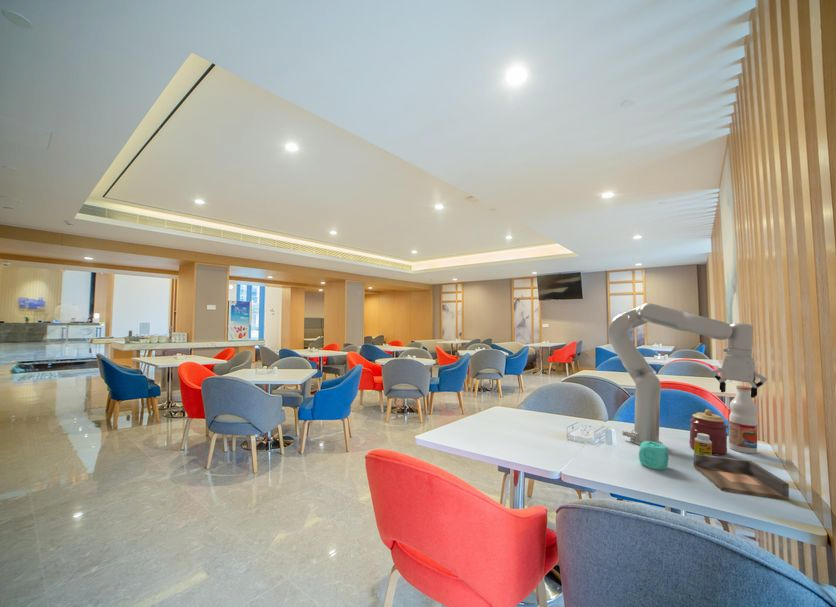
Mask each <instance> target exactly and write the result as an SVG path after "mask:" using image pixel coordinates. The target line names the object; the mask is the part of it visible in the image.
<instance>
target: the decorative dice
mask: <svg viewBox="0 0 836 607" xmlns="http://www.w3.org/2000/svg"><path fill="white" fill-rule="evenodd" d="M669 458H670V457H669V449H668V447H667V446H666V445H664V443H663V444H660V443H656V442H651V441H644V442H642V443H641V445H639V450H638V459H639V460H638V461H639V463H640V464H641V465H642V466H644V467H645V468H649V469H651V470H655V471H656V470H657V471H665V470H666V469H667V468H668V465H669Z"/></svg>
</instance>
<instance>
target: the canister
mask: <svg viewBox="0 0 836 607" xmlns="http://www.w3.org/2000/svg"><path fill="white" fill-rule="evenodd" d="M691 416H692V418H690V419H689V422H690V426H689V447H690V448H691V449H692V450H694V440H695V438H697V433H703V434H707V435H709V438H710V439H709V440H710V441H711V442H712V454H714V455H713V456H725V455H727V453H728V447H727V446H728V433H727V428H729V425H727V424H726V423H725V422H726V419H725V418H723V417H721V415H718V414H716V413H715V414H714V413H713V411H712V410H711V409H705V410H704V412H698V411H697V412H696V413H694V414H692V415H691Z"/></svg>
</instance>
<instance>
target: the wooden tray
mask: <svg viewBox="0 0 836 607" xmlns="http://www.w3.org/2000/svg"><path fill="white" fill-rule="evenodd" d="M694 467H695V468H694ZM693 468H694V469H696V471H698V472H699V471H700V472H701V473H702V475H703V476H704V475H705V476H706V477H707V478H708V479H707V478H706V477H705V476H704V477H705V478H706V479H707V480H709V481H710V482H711V483H712V482H713V483H714V484H715V485H714V484H713V483H712V484H713V485H714V486H715V487H716V488H718V489H719V488H720V489H721V490H720V489H719V490H720V491H723V490H726V491H725V492H730V491H733V492H732V493H737V492H739V493H738V494H744V495H752V496H758V497H764V498H765V497H766V498H771V499H778V500H779V499H780V500H785V501H789V499H790V498H789V495H790V493H789V492H790V484H789V482H786V481H784V480H783V479H781V478H780V477H778V476H776V475H775V474H773V473H771V472H770V471H768V470H766V469H765V468H763V467H762V466H760V464H759V465H758V464H757V463H755V462H754V461H752V460H748V459H739V458H732V457H724V456H723V457H722V456H718V455H711V456H709V455H701V454H694V453H693ZM700 472H699V473H700Z"/></svg>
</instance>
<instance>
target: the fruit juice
mask: <svg viewBox="0 0 836 607" xmlns="http://www.w3.org/2000/svg"><path fill="white" fill-rule="evenodd" d="M751 388H752V386H751V387H750V386H748V385H747V386H745V385H736V387H735V389H736V393H735V397H734V398H733V399H732V400H731V401H730V402H729V408H730V413H729V416H728V447H729V448H730V449H732V450H733V451H735V452H740V453H744V454H752V455H753V454H757V452H758V417H757V416H756V415H757V412H758V406H757V404H756V403H755V402H754V401H753V398H751Z"/></svg>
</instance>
